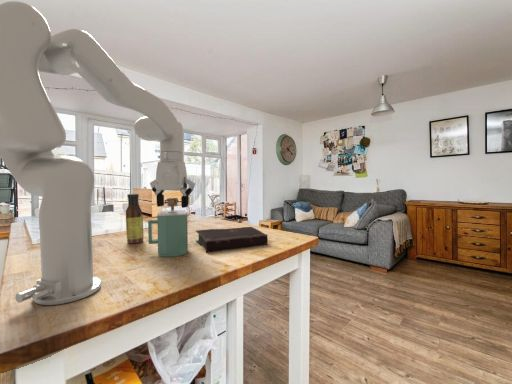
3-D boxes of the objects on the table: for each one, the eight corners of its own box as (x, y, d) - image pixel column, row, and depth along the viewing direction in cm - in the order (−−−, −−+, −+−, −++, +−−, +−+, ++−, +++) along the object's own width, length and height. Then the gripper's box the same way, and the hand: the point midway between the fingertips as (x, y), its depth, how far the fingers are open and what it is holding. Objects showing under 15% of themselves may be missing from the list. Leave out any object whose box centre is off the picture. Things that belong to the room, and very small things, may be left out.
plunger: (183, 242, 86) (183, 198, 85) (161, 244, 84) (160, 199, 83) (183, 237, 93) (182, 197, 92) (162, 239, 91) (161, 197, 90)
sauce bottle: (146, 241, 103) (145, 193, 102) (132, 245, 98) (131, 194, 96) (137, 239, 107) (136, 193, 105) (123, 242, 101) (121, 194, 100)
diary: (267, 246, 99) (268, 234, 99) (206, 255, 89) (206, 241, 88) (249, 235, 116) (249, 225, 116) (195, 241, 106) (195, 229, 105)
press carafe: (188, 255, 85) (188, 213, 84) (147, 259, 81) (146, 215, 80) (187, 247, 95) (186, 209, 94) (150, 250, 91) (149, 211, 90)
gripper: (143, 157, 85) (144, 207, 86) (188, 156, 81) (189, 209, 82) (157, 158, 92) (158, 204, 93) (199, 158, 88) (199, 206, 89)
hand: (172, 206), depth 88 cm, fingers open, 9 cm apart
